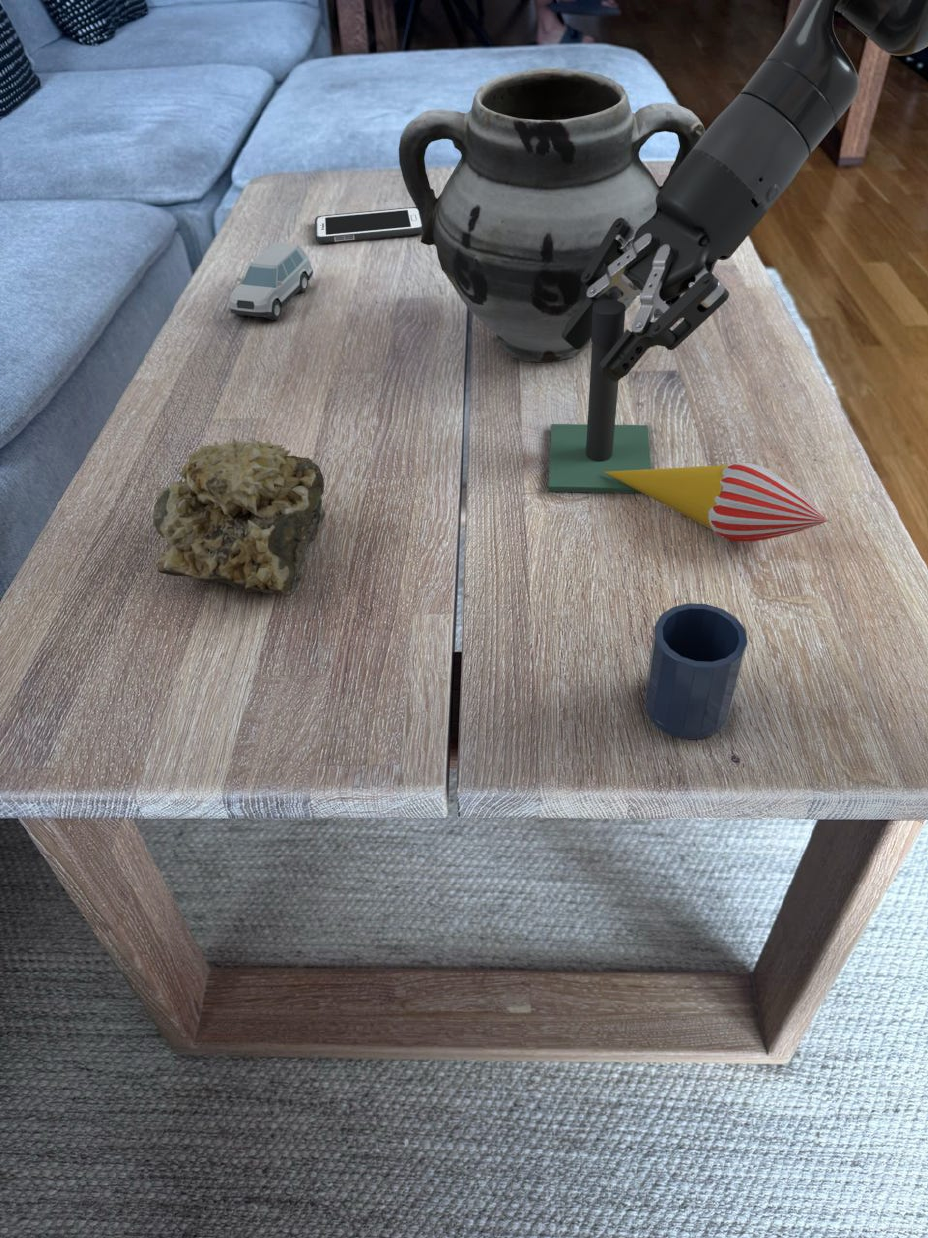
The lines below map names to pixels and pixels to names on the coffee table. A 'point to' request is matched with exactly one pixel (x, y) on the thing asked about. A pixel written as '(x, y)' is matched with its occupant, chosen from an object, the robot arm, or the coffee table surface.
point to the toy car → (271, 281)
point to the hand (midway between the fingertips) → (588, 358)
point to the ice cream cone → (729, 499)
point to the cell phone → (368, 225)
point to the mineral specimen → (241, 516)
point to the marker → (603, 379)
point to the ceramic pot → (536, 195)
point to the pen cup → (694, 670)
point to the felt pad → (586, 475)
